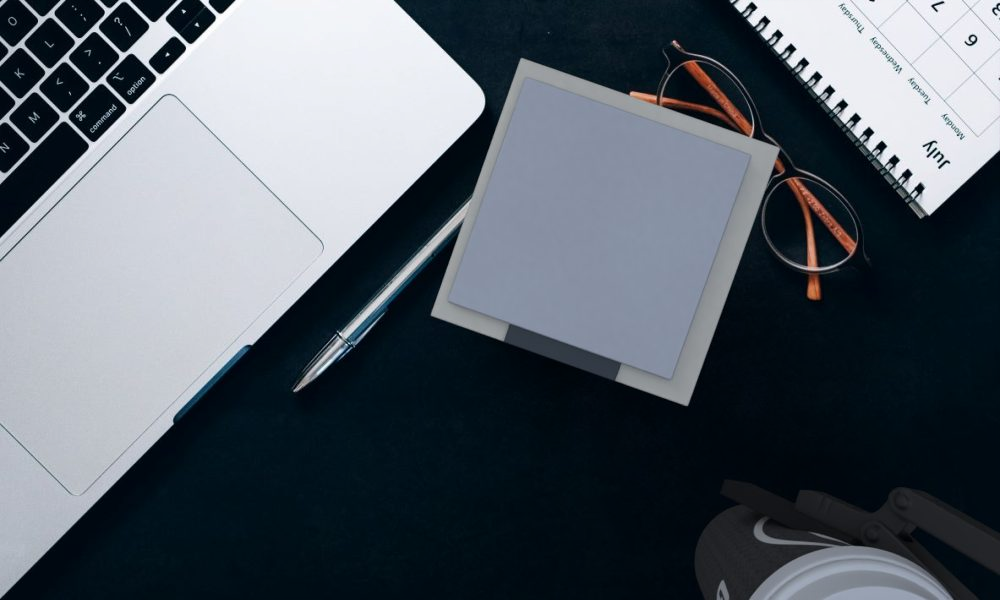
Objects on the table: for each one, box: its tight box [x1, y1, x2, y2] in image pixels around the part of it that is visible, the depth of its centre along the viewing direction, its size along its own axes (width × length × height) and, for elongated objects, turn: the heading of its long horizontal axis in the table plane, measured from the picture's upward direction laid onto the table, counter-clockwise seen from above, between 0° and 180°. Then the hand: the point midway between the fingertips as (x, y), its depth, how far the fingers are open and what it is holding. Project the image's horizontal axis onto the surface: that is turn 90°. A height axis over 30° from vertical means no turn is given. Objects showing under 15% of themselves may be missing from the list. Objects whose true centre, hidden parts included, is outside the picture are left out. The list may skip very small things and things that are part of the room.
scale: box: [430, 57, 781, 407], centre depth 42 cm, size 14×14×3 cm
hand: (708, 564), depth 41 cm, fingers closed on coffee cup, 7 cm apart
